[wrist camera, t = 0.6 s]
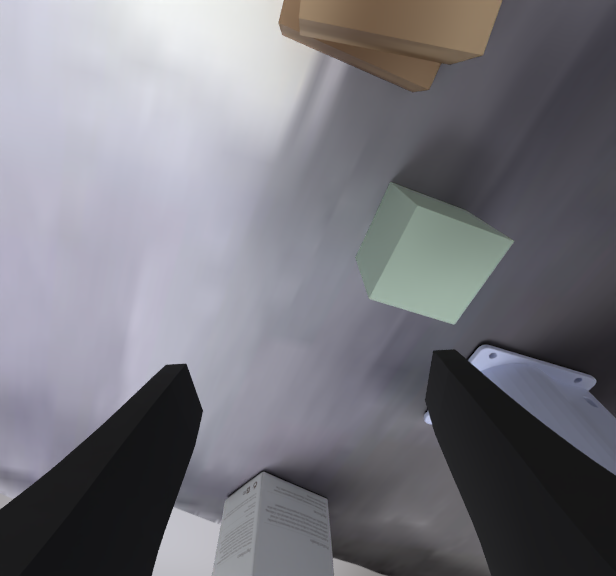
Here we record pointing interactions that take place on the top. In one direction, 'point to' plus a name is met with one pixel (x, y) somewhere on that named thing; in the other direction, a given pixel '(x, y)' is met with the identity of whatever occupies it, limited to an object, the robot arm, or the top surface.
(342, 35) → the tower top
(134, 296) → the top surface
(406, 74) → the tower base
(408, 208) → the block
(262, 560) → the skincare box
